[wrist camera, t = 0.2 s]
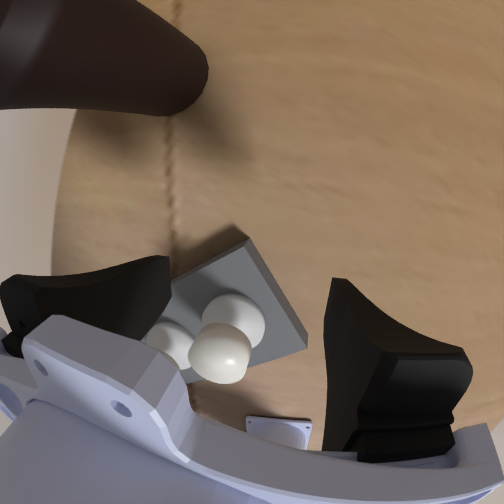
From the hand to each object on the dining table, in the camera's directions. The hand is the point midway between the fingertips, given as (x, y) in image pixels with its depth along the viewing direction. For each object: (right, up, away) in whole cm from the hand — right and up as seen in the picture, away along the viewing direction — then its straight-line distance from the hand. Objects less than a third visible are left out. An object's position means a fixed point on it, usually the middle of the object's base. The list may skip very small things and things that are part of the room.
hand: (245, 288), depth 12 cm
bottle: (-6, +15, +7) cm, 18 cm away
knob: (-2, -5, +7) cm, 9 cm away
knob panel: (-7, -6, +15) cm, 17 cm away
